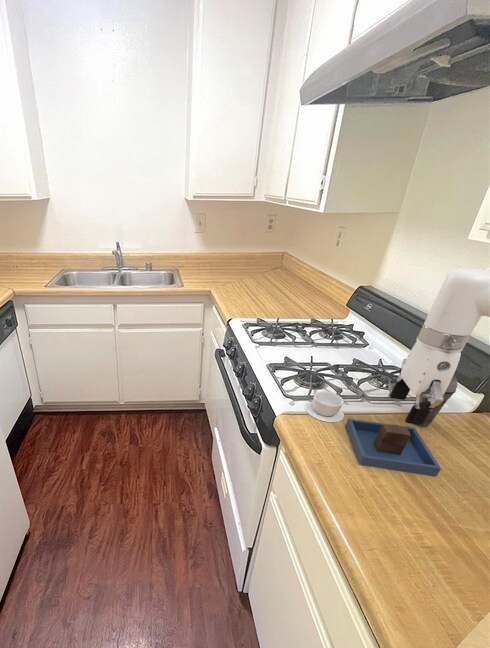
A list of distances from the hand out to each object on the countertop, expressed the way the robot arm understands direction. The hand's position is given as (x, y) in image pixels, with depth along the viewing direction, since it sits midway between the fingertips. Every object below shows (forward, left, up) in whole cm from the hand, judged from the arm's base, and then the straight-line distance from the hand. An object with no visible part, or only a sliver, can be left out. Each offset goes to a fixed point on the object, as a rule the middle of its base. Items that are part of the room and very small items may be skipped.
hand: (404, 410), depth 76 cm
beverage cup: (-12, -14, -12) cm, 22 cm away
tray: (0, 0, -12) cm, 12 cm away
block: (0, 0, -11) cm, 11 cm away
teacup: (+12, -13, -12) cm, 21 cm away
